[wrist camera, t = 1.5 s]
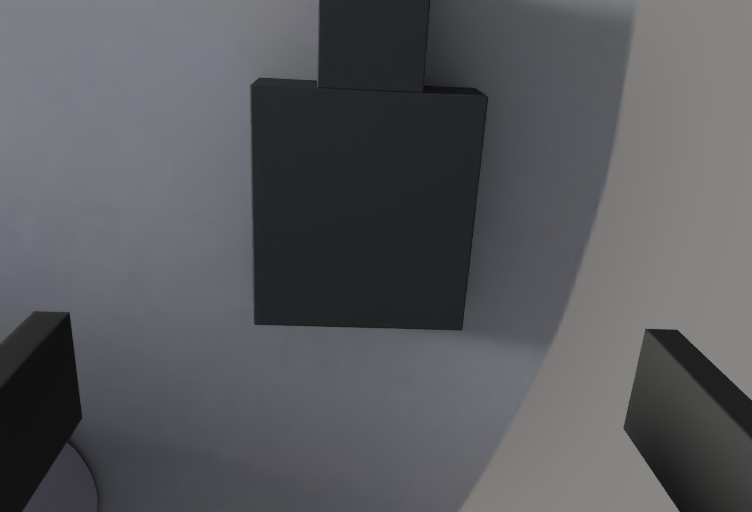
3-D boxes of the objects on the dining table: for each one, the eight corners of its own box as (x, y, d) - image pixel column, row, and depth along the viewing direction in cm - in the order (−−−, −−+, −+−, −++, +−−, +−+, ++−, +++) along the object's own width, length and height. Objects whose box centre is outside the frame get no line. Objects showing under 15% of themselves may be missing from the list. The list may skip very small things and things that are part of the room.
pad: (486, -11, 26) (500, -12, 23) (453, 306, 31) (462, 331, 28) (256, -24, 25) (247, -27, 23) (260, 300, 30) (253, 325, 28)
